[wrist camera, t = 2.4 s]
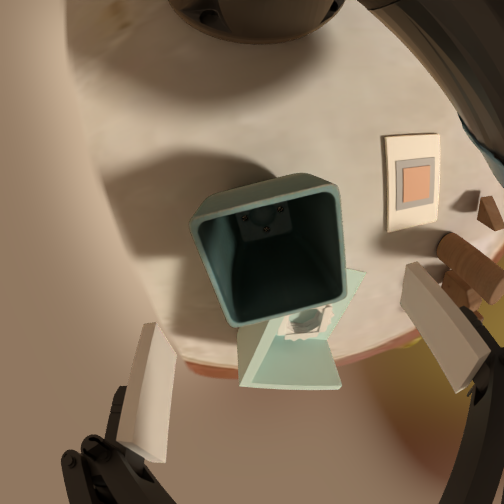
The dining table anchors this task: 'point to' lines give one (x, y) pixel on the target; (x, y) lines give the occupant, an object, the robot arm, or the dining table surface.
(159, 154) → the dining table surface
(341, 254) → the flower pot
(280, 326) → the right angle wall
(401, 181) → the card
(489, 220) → the wooden block set
